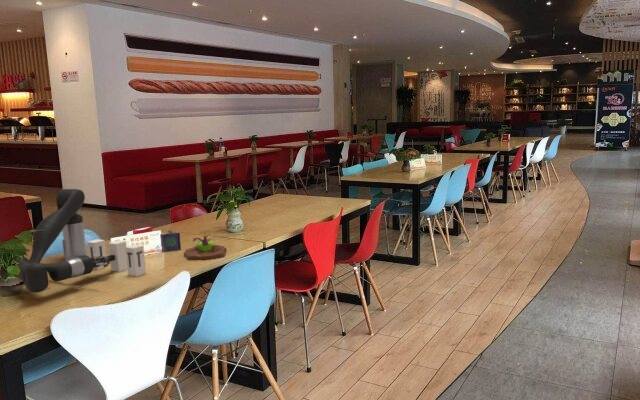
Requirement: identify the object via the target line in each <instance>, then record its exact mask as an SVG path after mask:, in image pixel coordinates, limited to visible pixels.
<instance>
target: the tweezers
mask: <svg viewBox="0 0 640 400" xmlns="http://www.w3.org/2000/svg"><path fill="white" fill-rule="evenodd" d="M206 239H207V242H209V241H212V240H213V239H214V237H209V238H208V237H207V238H206ZM202 240H204V238H203V239H202ZM197 243H200V240H199V239H198V241H195V245H198V244H197Z"/></svg>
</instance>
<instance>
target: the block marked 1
mask: <svg viewBox="0 0 640 400" xmlns="http://www.w3.org/2000/svg"><path fill="white" fill-rule="evenodd" d="M86 243H87V245H86V247H87V253H88V254H87V255H88V256H89V257H97V256H101V257H103V256H107V252H106V251H107V250H106V249H107V248H106V241H105V239H98V238H96V239H92V240H89V241H87V242H86ZM103 268H105V267H104V266H100V267H98V268H93V270H101V269H103Z"/></svg>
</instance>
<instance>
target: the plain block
mask: <svg viewBox="0 0 640 400" xmlns="http://www.w3.org/2000/svg"><path fill="white" fill-rule="evenodd" d="M107 244H108V253H109V255H115V260H114V261H110V264H109V265H110V271H111V272H112V271H113V272H118V273H119V272H122V271H127V270H128V269H127V260H126V250H125V247H127V241H125V240H118V239H117V240H115V241H110V242H108V243H107ZM109 255H108V256H109Z"/></svg>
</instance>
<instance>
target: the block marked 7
mask: <svg viewBox="0 0 640 400" xmlns="http://www.w3.org/2000/svg"><path fill="white" fill-rule="evenodd" d="M125 250H126V260H127V269H126V270H127V275H128V276H131V277H138V276H139V277H140V276H141V275H145V274H146V273H147V269H146V259H145V258H146V257H145V248H144V245H140V244H131V245H129V246H126V247H125Z"/></svg>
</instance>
